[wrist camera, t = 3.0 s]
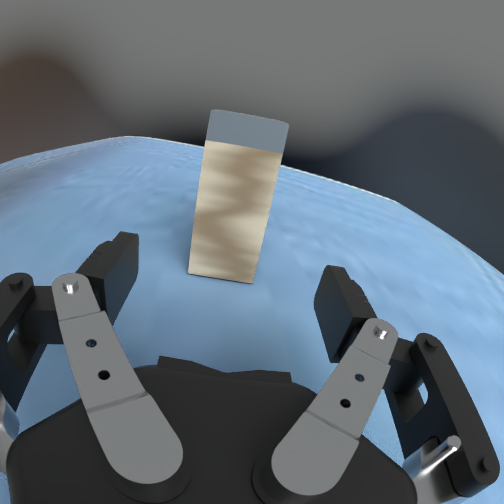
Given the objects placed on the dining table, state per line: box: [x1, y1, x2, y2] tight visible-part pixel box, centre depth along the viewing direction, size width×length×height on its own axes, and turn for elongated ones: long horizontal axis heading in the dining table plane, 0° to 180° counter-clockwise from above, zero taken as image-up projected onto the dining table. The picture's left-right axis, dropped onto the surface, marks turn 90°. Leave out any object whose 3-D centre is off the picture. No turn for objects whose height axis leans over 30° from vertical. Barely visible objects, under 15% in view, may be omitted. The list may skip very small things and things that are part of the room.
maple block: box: [188, 110, 289, 284], centre depth 22 cm, size 5×5×12 cm
